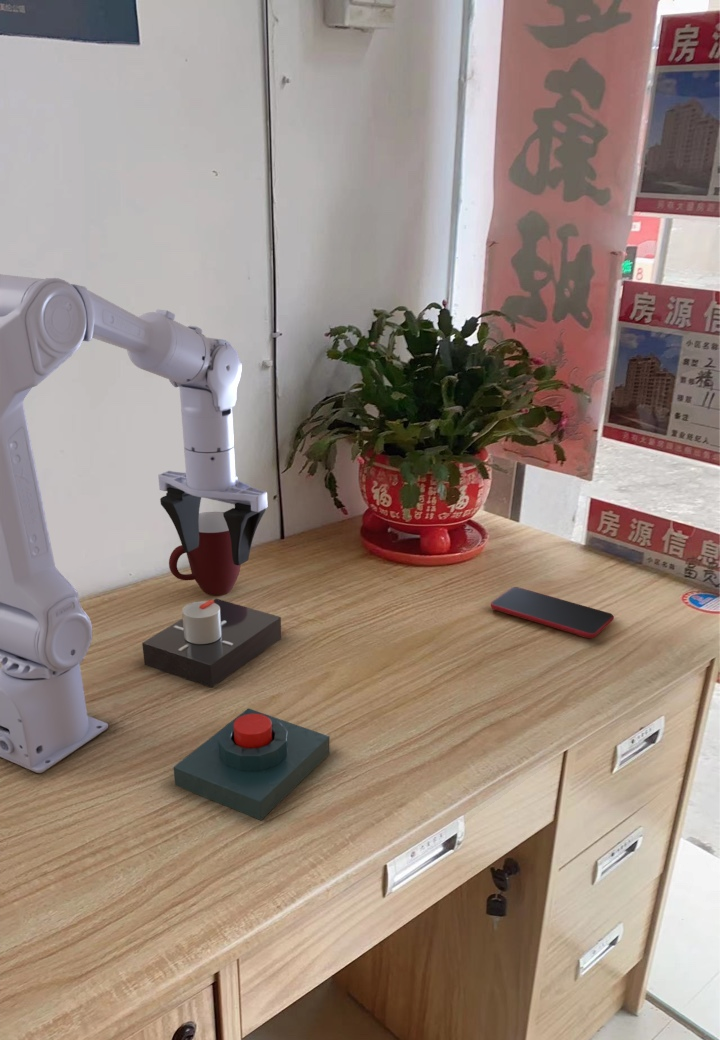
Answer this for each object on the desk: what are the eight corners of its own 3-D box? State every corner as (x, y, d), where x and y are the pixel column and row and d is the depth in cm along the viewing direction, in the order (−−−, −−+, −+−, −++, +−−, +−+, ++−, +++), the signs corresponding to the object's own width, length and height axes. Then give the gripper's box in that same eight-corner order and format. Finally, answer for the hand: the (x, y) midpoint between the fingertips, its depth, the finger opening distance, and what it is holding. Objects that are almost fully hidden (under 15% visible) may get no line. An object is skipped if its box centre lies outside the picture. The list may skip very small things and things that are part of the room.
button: (257, 753, 83) (257, 738, 82) (226, 742, 84) (225, 727, 83) (279, 735, 85) (278, 720, 85) (249, 724, 87) (248, 709, 86)
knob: (206, 647, 102) (204, 618, 100) (176, 638, 104) (173, 609, 102) (229, 632, 105) (227, 604, 103) (200, 623, 107) (197, 595, 105)
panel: (212, 687, 100) (210, 663, 98) (144, 664, 104) (141, 641, 102) (281, 638, 111) (280, 615, 109) (217, 619, 115) (216, 597, 113)
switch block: (261, 820, 80) (259, 785, 78) (174, 785, 84) (171, 751, 82) (329, 754, 89) (330, 721, 87) (248, 725, 93) (247, 693, 91)
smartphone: (513, 585, 124) (616, 614, 116) (513, 591, 124) (615, 620, 116) (488, 603, 118) (594, 635, 111) (487, 609, 119) (593, 641, 111)
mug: (192, 612, 116) (186, 542, 111) (160, 592, 122) (154, 524, 117) (257, 591, 122) (255, 523, 118) (225, 573, 128) (221, 507, 123)
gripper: (281, 447, 101) (283, 557, 108) (182, 429, 107) (190, 533, 114) (244, 462, 96) (249, 577, 102) (142, 442, 102) (153, 551, 108)
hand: (215, 555), depth 108 cm, fingers open, 7 cm apart
